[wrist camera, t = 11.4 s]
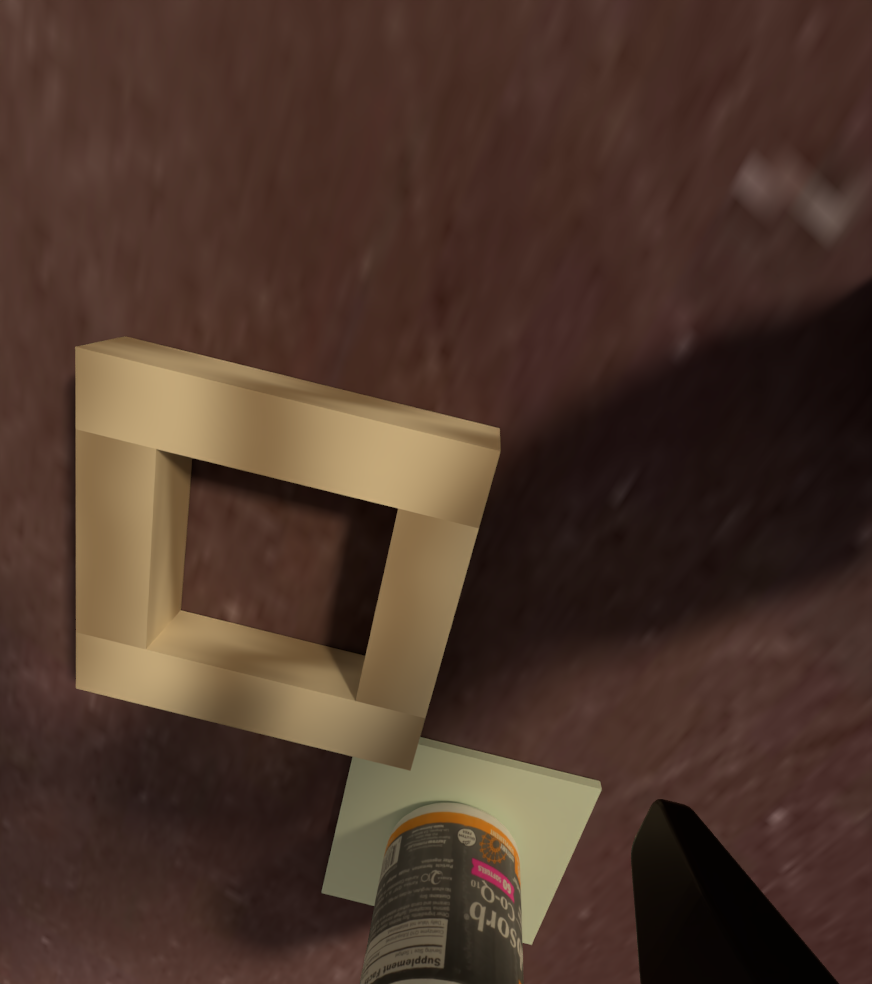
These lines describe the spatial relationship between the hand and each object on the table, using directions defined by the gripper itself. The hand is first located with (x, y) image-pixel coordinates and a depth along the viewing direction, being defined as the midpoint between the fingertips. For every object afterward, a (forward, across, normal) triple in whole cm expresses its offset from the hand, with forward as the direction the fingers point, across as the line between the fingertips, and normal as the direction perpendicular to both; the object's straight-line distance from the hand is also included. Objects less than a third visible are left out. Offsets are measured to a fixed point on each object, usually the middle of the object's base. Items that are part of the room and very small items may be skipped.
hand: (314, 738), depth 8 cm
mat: (+13, -5, +17) cm, 22 cm away
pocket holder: (+13, +4, +5) cm, 14 cm away
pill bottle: (+13, -5, +17) cm, 22 cm away
